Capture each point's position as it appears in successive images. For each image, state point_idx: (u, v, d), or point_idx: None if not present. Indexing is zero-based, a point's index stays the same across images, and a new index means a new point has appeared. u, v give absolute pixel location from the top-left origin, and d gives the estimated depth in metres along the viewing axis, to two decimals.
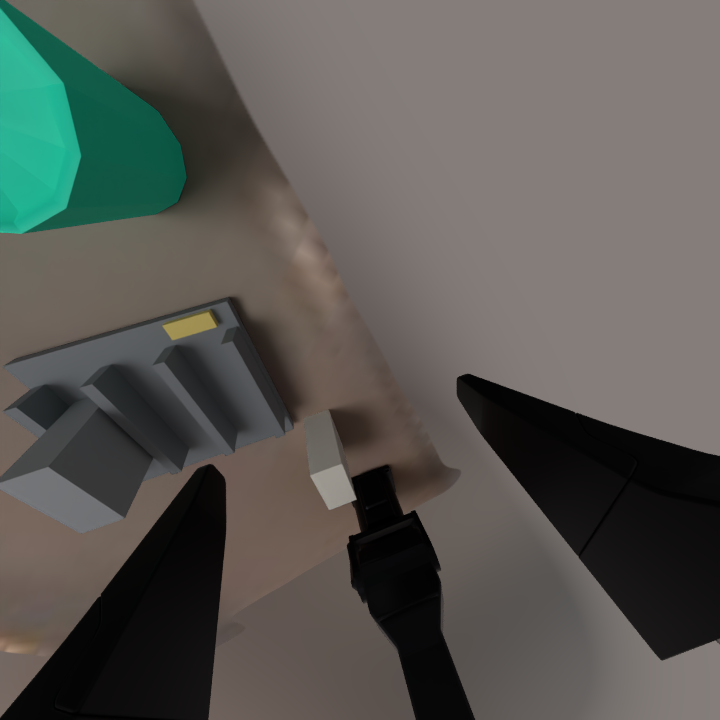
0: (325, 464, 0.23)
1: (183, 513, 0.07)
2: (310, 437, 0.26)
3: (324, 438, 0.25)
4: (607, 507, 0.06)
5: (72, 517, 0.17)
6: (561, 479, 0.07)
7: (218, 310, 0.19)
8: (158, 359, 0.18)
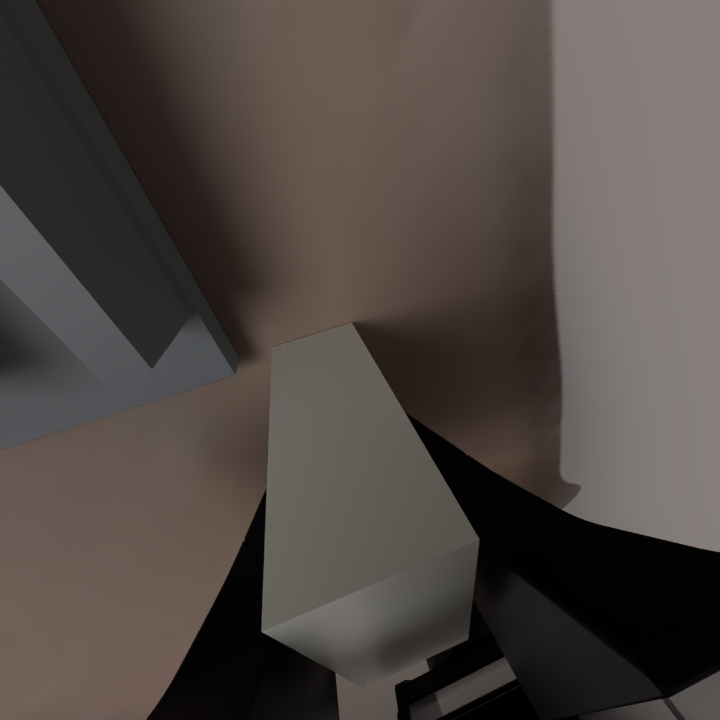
0: (366, 538, 0.04)
1: None
2: (288, 398, 0.06)
3: (345, 398, 0.06)
4: (479, 563, 0.05)
5: None
6: None
7: None
8: None
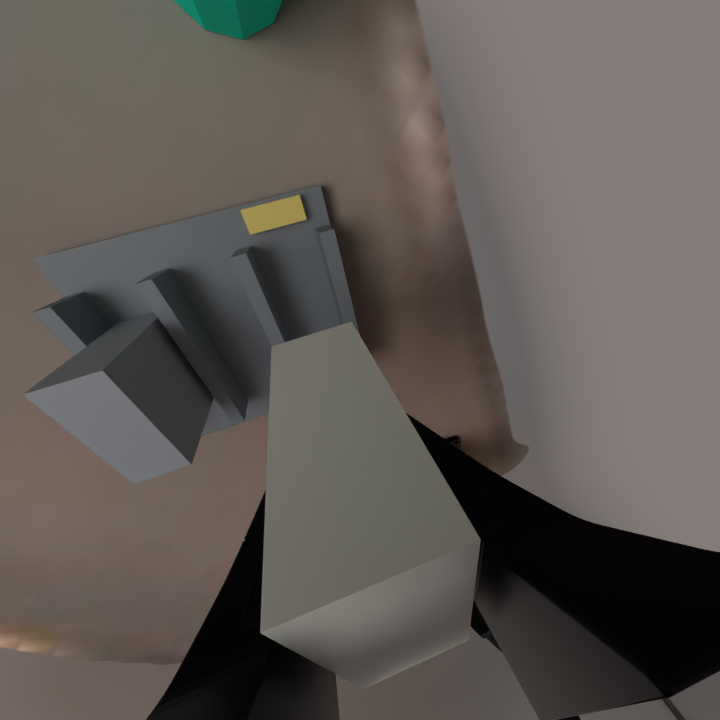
0: (366, 538, 0.04)
1: None
2: (288, 397, 0.06)
3: (344, 397, 0.06)
4: (479, 563, 0.05)
5: (125, 458, 0.12)
6: None
7: (308, 198, 0.15)
8: (234, 254, 0.14)
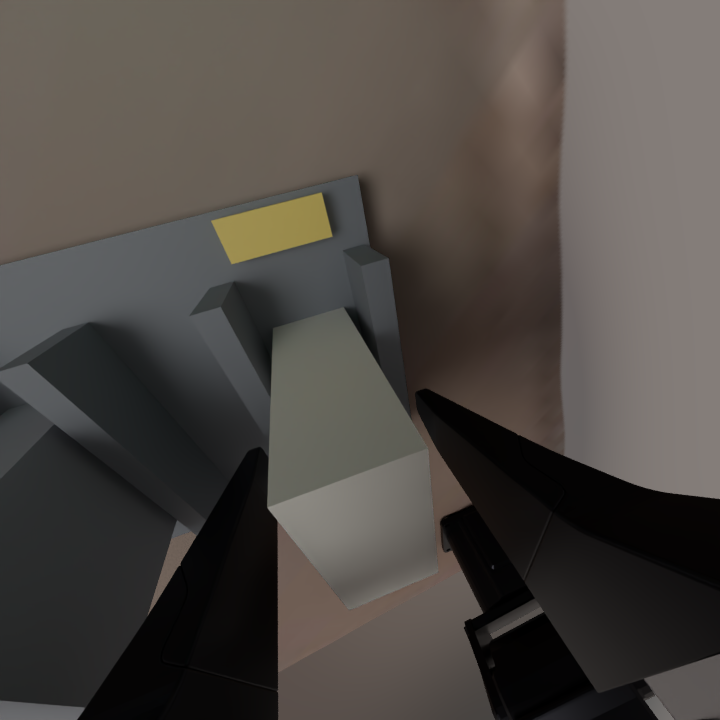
0: (345, 452, 0.05)
1: (244, 490, 0.07)
2: (287, 365, 0.08)
3: (334, 363, 0.07)
4: (539, 536, 0.05)
5: None
6: (502, 503, 0.06)
7: (334, 198, 0.08)
8: (201, 304, 0.07)
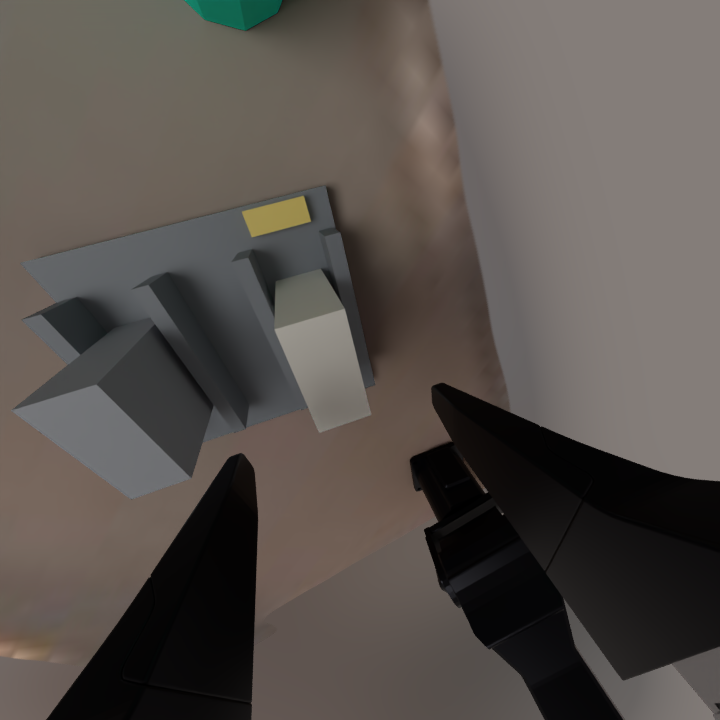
0: (309, 313, 0.11)
1: (221, 499, 0.07)
2: (284, 294, 0.13)
3: (310, 290, 0.13)
4: (566, 525, 0.06)
5: (121, 473, 0.12)
6: (525, 494, 0.06)
7: (312, 199, 0.14)
8: (236, 258, 0.13)
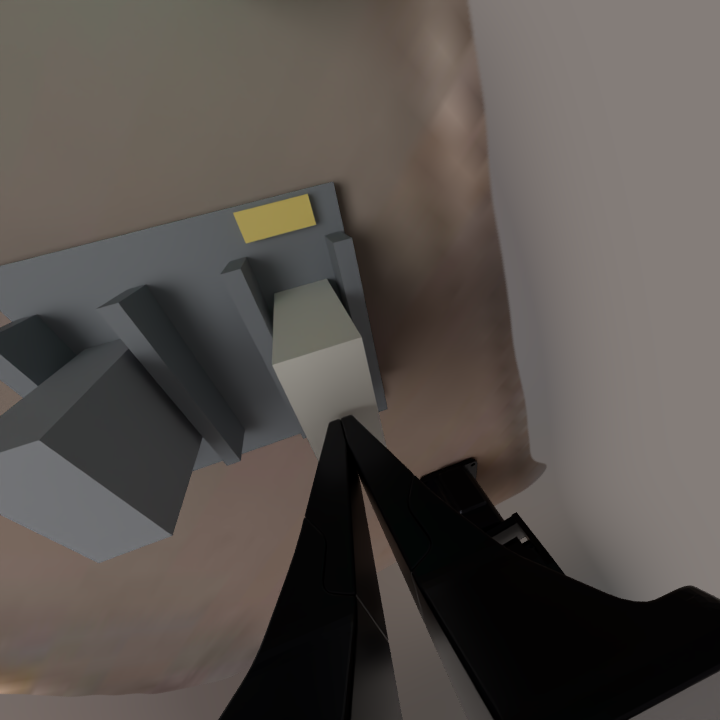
0: (316, 342, 0.08)
1: (343, 455, 0.07)
2: (284, 311, 0.11)
3: (315, 308, 0.11)
4: (415, 590, 0.05)
5: (84, 537, 0.09)
6: (394, 548, 0.06)
7: (317, 197, 0.12)
8: (226, 269, 0.11)
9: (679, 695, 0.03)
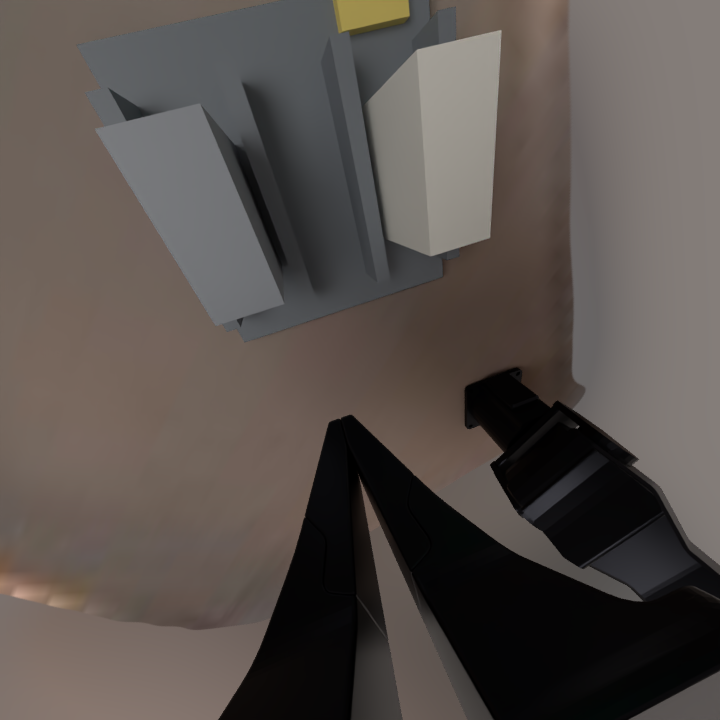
0: None
1: (343, 455, 0.07)
2: None
3: None
4: (415, 590, 0.05)
5: (210, 278, 0.09)
6: (394, 548, 0.06)
7: None
8: (329, 44, 0.11)
9: (680, 696, 0.03)
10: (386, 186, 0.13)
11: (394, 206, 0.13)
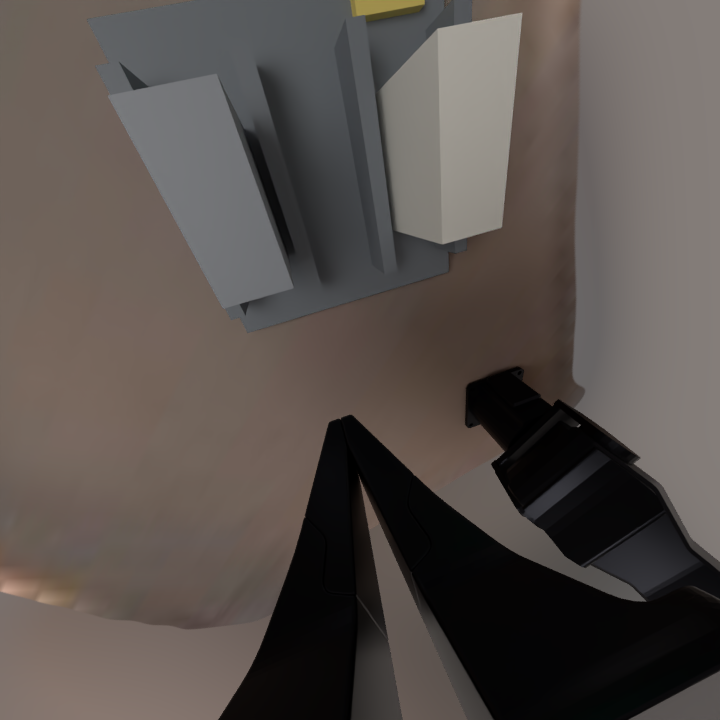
0: None
1: (343, 455, 0.07)
2: None
3: None
4: (415, 590, 0.05)
5: (220, 258, 0.09)
6: (394, 548, 0.06)
7: None
8: (344, 28, 0.11)
9: (679, 695, 0.03)
10: (397, 175, 0.13)
11: (404, 195, 0.13)
